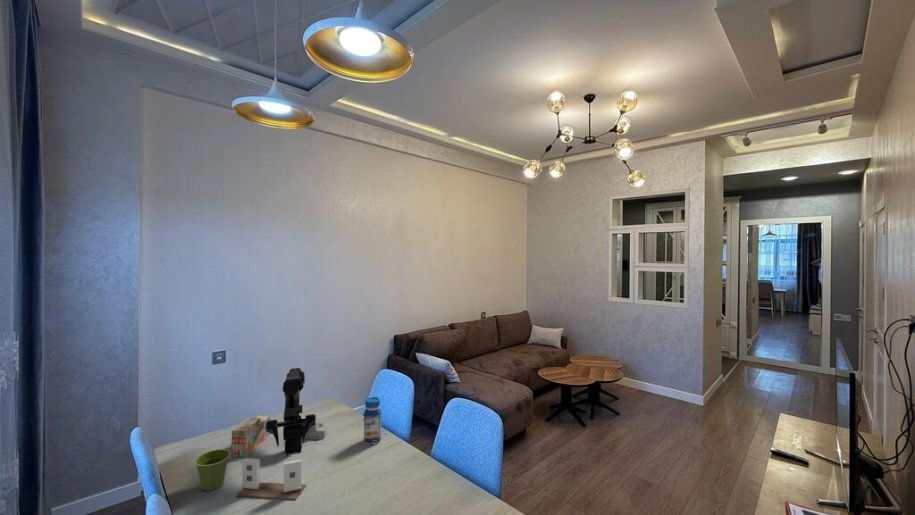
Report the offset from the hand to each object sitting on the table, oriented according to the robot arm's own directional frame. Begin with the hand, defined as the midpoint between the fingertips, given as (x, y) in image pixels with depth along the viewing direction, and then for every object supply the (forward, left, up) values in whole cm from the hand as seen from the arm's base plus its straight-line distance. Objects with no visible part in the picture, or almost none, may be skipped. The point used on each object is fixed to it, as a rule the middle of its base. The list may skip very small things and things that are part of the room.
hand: (290, 444), depth 151 cm
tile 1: (-1, +10, -12) cm, 16 cm away
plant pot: (+28, -5, -14) cm, 32 cm away
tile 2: (+14, +4, -12) cm, 18 cm away
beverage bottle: (-34, -19, -14) cm, 42 cm away
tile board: (+6, +7, -14) cm, 16 cm away
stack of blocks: (+19, -34, -14) cm, 41 cm away
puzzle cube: (-9, -37, -14) cm, 40 cm away
